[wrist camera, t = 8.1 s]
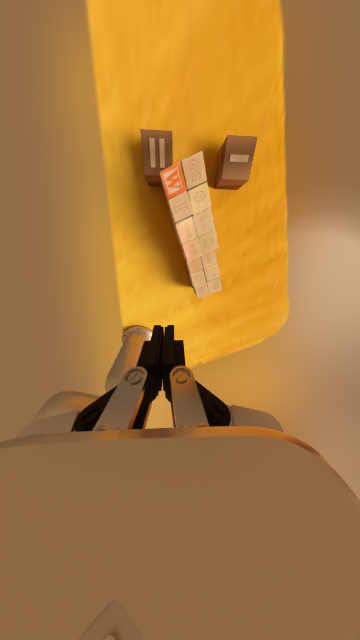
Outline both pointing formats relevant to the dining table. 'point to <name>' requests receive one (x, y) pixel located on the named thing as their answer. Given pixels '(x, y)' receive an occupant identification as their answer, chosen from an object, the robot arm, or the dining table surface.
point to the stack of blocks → (193, 221)
